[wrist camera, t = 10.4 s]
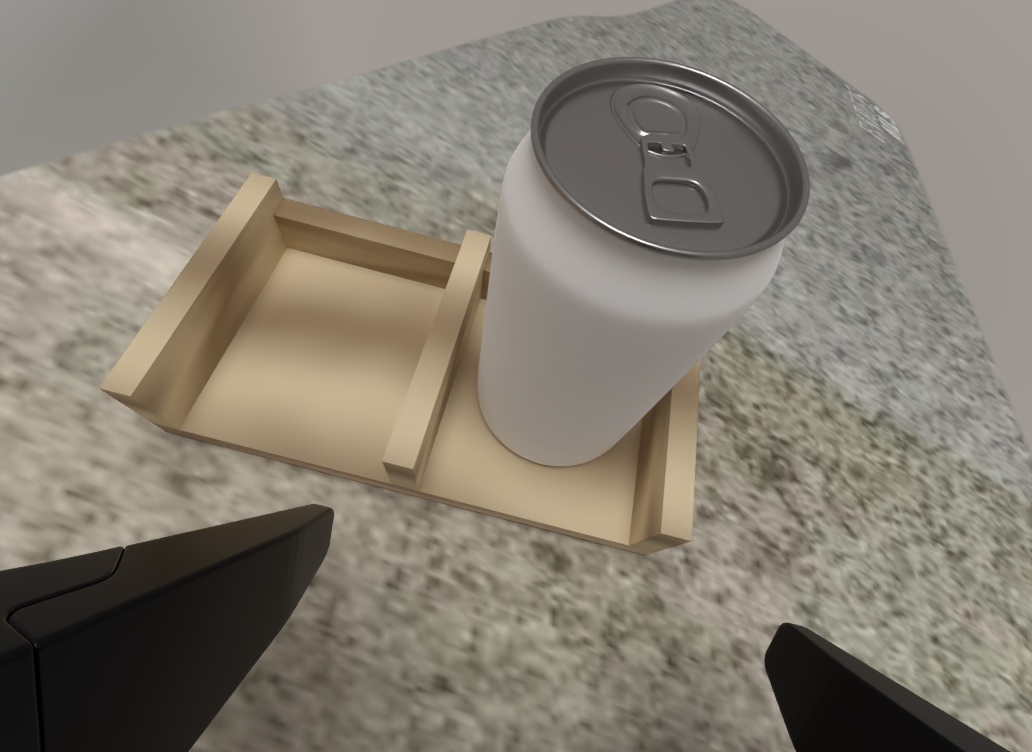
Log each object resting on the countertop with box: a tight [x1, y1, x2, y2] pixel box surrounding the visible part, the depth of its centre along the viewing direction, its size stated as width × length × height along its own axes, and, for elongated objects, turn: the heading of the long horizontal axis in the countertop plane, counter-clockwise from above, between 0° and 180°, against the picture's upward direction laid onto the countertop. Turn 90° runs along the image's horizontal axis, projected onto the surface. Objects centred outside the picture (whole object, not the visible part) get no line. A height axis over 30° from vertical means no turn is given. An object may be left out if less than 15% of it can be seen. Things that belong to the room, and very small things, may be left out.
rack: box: [99, 173, 701, 555], centre depth 19 cm, size 10×19×4 cm, turn 77°
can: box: [477, 57, 810, 466], centre depth 15 cm, size 6×6×12 cm
